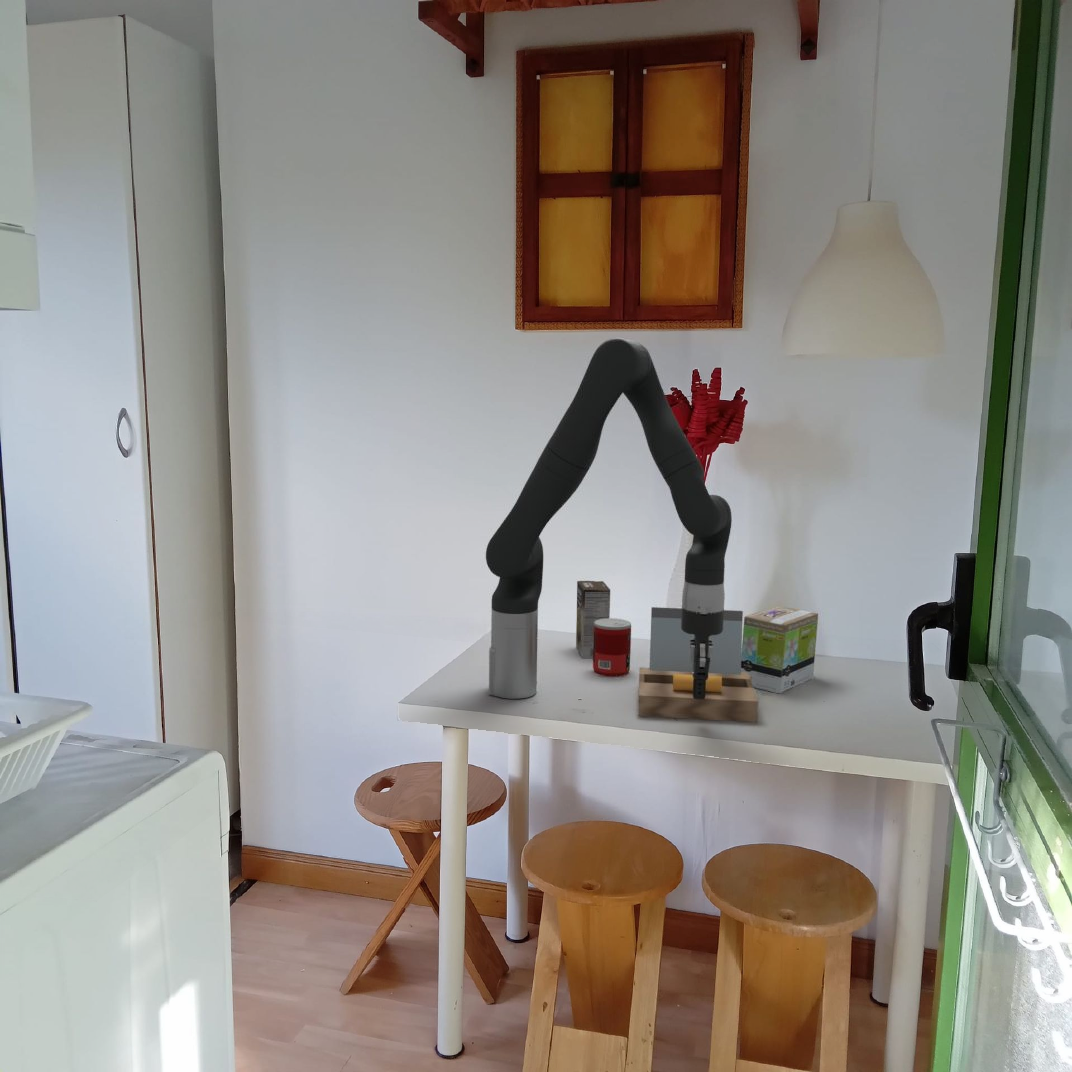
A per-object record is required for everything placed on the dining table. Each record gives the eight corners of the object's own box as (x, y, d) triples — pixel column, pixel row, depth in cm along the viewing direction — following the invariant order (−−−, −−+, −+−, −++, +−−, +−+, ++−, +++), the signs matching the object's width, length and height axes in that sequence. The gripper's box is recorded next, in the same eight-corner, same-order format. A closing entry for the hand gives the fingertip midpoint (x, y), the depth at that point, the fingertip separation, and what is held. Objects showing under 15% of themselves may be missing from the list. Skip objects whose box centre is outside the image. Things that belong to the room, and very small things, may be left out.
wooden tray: (638, 715, 183) (638, 695, 183) (638, 686, 201) (639, 667, 200) (757, 722, 181) (758, 701, 180) (747, 691, 199) (748, 672, 198)
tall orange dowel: (673, 686, 184) (673, 671, 186) (672, 692, 187) (673, 677, 188) (721, 689, 183) (721, 674, 185) (720, 694, 186) (720, 679, 187)
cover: (651, 607, 196) (651, 607, 196) (649, 670, 195) (649, 669, 196) (742, 611, 194) (742, 610, 194) (740, 674, 193) (740, 674, 194)
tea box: (782, 695, 197) (786, 624, 195) (738, 684, 203) (741, 615, 201) (814, 678, 208) (819, 611, 206) (772, 669, 215) (775, 603, 212)
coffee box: (574, 647, 229) (576, 580, 226) (601, 647, 230) (603, 580, 227) (580, 658, 220) (582, 588, 217) (608, 658, 221) (611, 588, 218)
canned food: (634, 676, 208) (636, 626, 206) (598, 678, 206) (600, 627, 204) (623, 665, 215) (624, 617, 213) (588, 667, 213) (589, 618, 212)
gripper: (680, 597, 183) (677, 685, 186) (683, 613, 170) (679, 708, 173) (721, 598, 182) (717, 687, 185) (726, 615, 169) (722, 711, 172)
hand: (698, 697), depth 179 cm, fingers closed
